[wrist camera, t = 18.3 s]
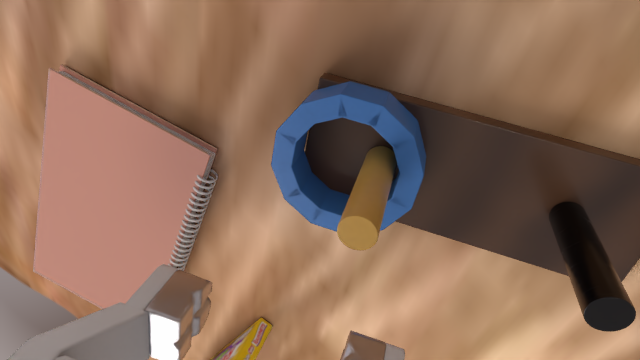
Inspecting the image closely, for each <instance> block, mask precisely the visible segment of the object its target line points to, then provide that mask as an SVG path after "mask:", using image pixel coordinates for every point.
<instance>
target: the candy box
mask: <svg viewBox="0 0 640 360" xmlns="http://www.w3.org/2000/svg"><path fill="white" fill-rule="evenodd" d="M272 327H273V326H272V325H271V324H270V323H268V322H267V321H266V320H264V319H263V318H260V319H259V320H258V321H256V322H255V323H254V324H253V325H251V326H250V327H249V328H248V329H247V330H245V331H244V332H243V333H242V334H240V335H239V336H238V337H237V338H236V339H234V340H233V341H232V342H231V343H229V344H228V345H227V346H226V347H224V348H223V349H222V350H221V351H220V352H218V353H217V354H216V355H215V356H214V357H213V358H211V359H210V360H255V359H256V357H257V355H258V353H259V352H260V350H261V348H262V346H263V344H264V342H265V340H266V338H267V336H268V334H269V333H270V331H271V329H272Z"/></svg>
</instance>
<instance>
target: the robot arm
mask: <svg viewBox="0 0 640 360" xmlns="http://www.w3.org/2000/svg"><path fill="white" fill-rule="evenodd" d="M211 292H212V282H210V281H208V280H205V279H203V278H200V277H197V276H195V275H192V274H190V273H187V272H184V271H182V270H179V269H176V268H173V267H171V266H168V265H165V264H162V265H160V266H159V267H157V268H156V269H155V271H154V272H153V273H152V274H151V275H150V276H149V277H148V278H147V280H146V281H145V282H144V283H143V284H142V285H141V286H140V287H139V289H138V290H137V291H136V292H135V293H134V294H133V295H132V297H131V298H130V299H129V300H128V301H127V302H126V303H125V304H124V303H121V302H119V303H117V304H114V305H112V306H109V307H107V308H105V309H102V310H100V311H97V312H95V313H92V314H90V315H87V316H85V317H82V318H80V319H77V320H75V321H72V322H70V323H67V324H65V325H62V326H60V327H57V328H55V329H52V330H50V331H47V332H45V333H42V334H40V335H37V336H35V337H32V338H30V339H28V340H27V341H26V342H25V343H24V344H23V345H22V346H21V347H20V348H19V349H18V350H17V351H16V352H15V353H14V354H13V355H12V356H10V357H9V358H8V359H7V360H147V359H149V356H150V357H153V358H156V359H159V360H183V358H184V356H185V355H186V353H187V352H188V350H189V349H190V347H191V337H193V336H195V335H197V334H199V333H200V331H201V329H202V328H203V326H204V324H205V322H206V320H207V317H208V315H209V311H210V307H211V301H210V299H209V298H208V296H209V295H210V293H211ZM404 357H405V351H404V349H402V348H399V347H396V346H393V345H391V344H388V343H385V342H383V341H380V340H377V339H374V338H371V337H368V336H365V335H362V334H359V333H357V332H354V331H350V333H349V336H348V339H347V342H346V346H345V349H344V350H343V353H342V356H341V359H340V360H404Z"/></svg>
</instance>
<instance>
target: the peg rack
mask: <svg viewBox="0 0 640 360" xmlns="http://www.w3.org/2000/svg"><path fill="white" fill-rule="evenodd" d="M349 81H351V82H355V83H359V84H362V85H366V86H369V87H373V88H377V89H380V90H384V91H387V92H390V93H391V94H392V95H393V96H394V97H395V98H396V99H397V100H398V101H399V102H400V103H401V104H402V105H403V106H404V107H405V108H406V109H407V110H408V111H409V112H410V113H411V114H412V115H413V116H414V117H415V118H416V119H417V121H418V123H419V127H420V132H421V136H422V140H423V144H424V148H425V152H426V163H425V172H424V177H423V180H422V183H421V185H420V188H419V191H418V193H417V196H416V199H415V201H414V204H413V207H412V209H411V210H409V211H408V212H407V213H405V214H404V215H403V216H401V217H400V218H399V219H397V220H396V222H399V223H402V224H406V225H409V226H412V227H415V228H418V229H421V230H425V231H428V232H431V233H434V234H437V235H441V236H444V237H447V238H450V239H453V240H456V241H460V242H463V243H466V244H469V245H472V246H475V247H479V248H482V249H485V250H488V251H491V252H494V253H498V254H501V255H504V256H507V257H510V258H513V259H517V260H520V261H523V262H526V263H529V264H532V265H536V266H539V267H542V268H545V269H548V270H551V271H555V272H558V273H561V274H564V275H567V276H569V277H570V280H571V283H572V285H573V288H574V291H575V294H576V297H577V299H578V302H579V305H580V308H581V311H582V314H583V316H584V319H585V321H586V322H587V323H588V324H589V325H590V326H591V327H593V328H595V329H598V330H601V331H618V330H621V329H624V328H626V327H628V326H629V325H630V324H631V323H632V322H633V321H634V319H635V316H636V311H635V308H634V306H633V304H632V302H631V300H630V298H629V296H628V294H627V292H626V290H625V289H624V287H623V285H622V283H621V282H622V281H623V279H624V278H625V277H626V275H627V274H628V273H629V271H630V270H631V269H632V267H633V266H634V265H635V264H636V262H637V261H638V260H639V258H640V159H636V158H633V157H629V156H625V155H622V154H618V153H614V152H611V151H607V150H604V149H600V148H596V147H593V146H589V145H585V144H582V143H578V142H575V141H571V140H567V139H564V138H560V137H556V136H553V135H549V134H546V133H542V132H538V131H535V130H531V129H527V128H524V127H520V126H517V125H513V124H509V123H506V122H502V121H498V120H495V119H491V118H488V117H484V116H480V115H477V114H473V113H469V112H466V111H462V110H459V109H455V108H451V107H448V106H444V105H440V104H437V103H433V102H430V101H426V100H422V99H419V98H415V97H411V96H408V95H404V94H401V93H397V92H393V91H390V90H386V89H382V88H379V87H375V86H372V85H368V84H364V83H361V82H357V81H353V80H350V79H346V78H343V77H339V76H335V75H332V74H328V73H324V74H323V75H322V76H321V77H320V80H319V85H318V89H322V88H326V87H330V86H334V85H337V84H341V83H345V82H349ZM305 155H306V157H307V160H308V163H309V166H310V169H311V171H312V173H313V174H314V175H316V176H317V177H318V178H319V179H320V180H321V181H322V182H323V183H324V184H325V185H326V186H327V187H328V188H330V189H331V190H334V191H338V192H341V193H344V194H347V195H350V197H349V199H348V202H347V204H346V207H345V209H344V212H343V214H342V216H341V219H340V221H339V224H338V227H337V234H338V237H339V239H340V240H341V242H342V243H343V244H344V245H346V246H347V247H349V248H351V249H354V250H366V249H369V248H371V247H372V246H374V245H375V243H376V242H377V240H378V236H379V232H380V228H381V224H382V220H383V216H384V212H385V208H386V204H387V200H388V196H389V192H390V188H391V184H392V181H393V180H394V179H396V177H397V174H398V171H399V168H398V165H397V161H396V157H395V154H394V150H393V147H392V146H391V145H390V144H389V143H388V142H387V141H386V140H385V139H384V138H383V137H382V136H381V135H380V134H379V133H378V132H377V131H376V130H375V129H374V128H373V127H372V126H370V125H367V124H363V123H360V122H356V121H353V120H350V119H346V118H343V117H342V118H338V119H334V120H329V121H325V122H321V123H317V124H314V125H313V126H312V127H311V128H310V130H309V135H308V140H307V145H306V150H305Z"/></svg>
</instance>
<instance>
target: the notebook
mask: <svg viewBox="0 0 640 360" xmlns="http://www.w3.org/2000/svg"><path fill="white" fill-rule="evenodd" d="M216 152H217V148H216V147H214V146H212V145H210V144H208V143H206V142H205V141H203V140H201V139H199V138H197V137H195V136H193V135H192V134H190V133H188V132H186V131H184V130H182V129H180V128H179V127H177V126H175V125H173V124H171V123H169V122H167V121H166V120H164V119H162V118H160V117H158V116H156V115H154V114H153V113H151V112H149V111H147V110H145V109H143V108H142V107H140V106H138V105H136V104H134V103H132V102H130V101H129V100H127V99H125V98H123V97H121V96H119V95H117V94H116V93H114V92H112V91H110V90H108V89H106V88H104V87H103V86H101V85H99V84H97V83H95V82H93V81H91V80H90V79H88V78H86V77H84V76H82V75H80V74H79V73H77V72H75V71H73V70H71V69H69V68H67V67H66V66H64V65H60V71H59V72H57V71H55V70H53V69H52V68H49V73H48V86H47V99H46V112H45V125H44V138H43V151H42V164H41V177H40V190H39V203H38V216H37V229H36V242H35V255H34V268H33V271H34V272H35V273H37V274H39V275H41V276H43V277H45V278H46V279H48V280H50V281H52V282H54V283H55V284H57V285H59V286H61V287H63V288H65V289H66V290H68V291H70V292H72V293H74V294H76V295H77V296H79V297H81V298H83V299H85V300H87V301H88V302H90V303H92V304H94V305H96V306H98V307H99V308H101V309H105V308H107V307H109V306H112V305H114V304H117V303H119V302H121V303H124V304H125V303H126V302H127V301H128V300H129V299H130V298H131V297H132V295H133V294H134V293H135V292H136V291H137V290H138V289H139V287H140V286H141V285H142V284H143V283H144V282H145V281H146V280H147V278H148V277H149V276H150V275H151V274H152V273H153V272H154V271H155V269H156V268H157V267H159V266H160V265H162V264H165V265H168V266H171V267H173V268H176V269H179V270H182V271H184V270H185V266H186V264H187V261H188V258H189V256H190V253H191V251H192V250H191V249H192V248H193V244H194V242H195V239H196V237H197V234H198V230H199V228H200V224H201V223H202V219H203V217H204V214H205V212H206V209H207V206H208V203H209V200H210V197H211V195H212V191H213V189H214V186H215V184H216V181H217V179H218V175H217V173H216V172H215V171H214V170H212V169H211V167H212V164H213V161H214V158H215V155H216ZM210 171H211V172H213V173H214V174H215V175H216V179H214V178H213V177H212V176H210V175H209V172H210ZM208 177H209V178H211V179H212V181H207V178H208ZM206 183H208V184H209V185H210V186H209V187H206V186H205V184H206ZM212 183H214V185H212ZM211 188H212V190H210V189H211ZM204 189H206V190H207V191H208V192H206V193H205V192H203V190H204ZM208 194H210V196H208ZM202 195H205V196H206V197H207V198H202V197H201V196H202ZM200 200H201V201H204V202H205V203H204V204H201V203H199V201H200ZM206 200H208V201H206ZM205 205H206V207H205ZM198 206H202V208H203V209H199V208H197V207H198ZM196 211H197V212H200V213H201V214H197V213H196ZM203 211H204V212H203ZM200 216H202V218H201V217H200ZM194 217H199V220H197V219H195V218H194ZM199 221H200V222H199ZM192 222H197V223H198V225H195V224H193V223H192ZM198 226H199V227H198ZM190 227H195V228H196V230H193V229H192V228H190ZM196 231H197V232H196ZM189 232H190V233H193V232H194V235H192V234H190V233H189ZM194 236H195V237H194ZM187 237H188V238H187ZM191 237H192V238H193V239H192V240H191V239H189V238H191ZM192 241H193V242H192ZM187 242H191V244H190V245H189V244H188V243H187ZM185 244H186V245H185ZM186 247H189V248H190V249H187V248H186ZM183 249H185V250H183ZM189 251H190V252H189ZM185 252H188V254H186V253H185ZM181 253H182V254H184V255H181ZM185 256H186V258H184V257H185ZM180 258H182V259H180ZM182 261H185V262H184V263H183V262H182ZM178 262H180V263H182V264H178ZM182 265H183V267H181V266H182ZM177 266H178V267H180V268H177Z"/></svg>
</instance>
